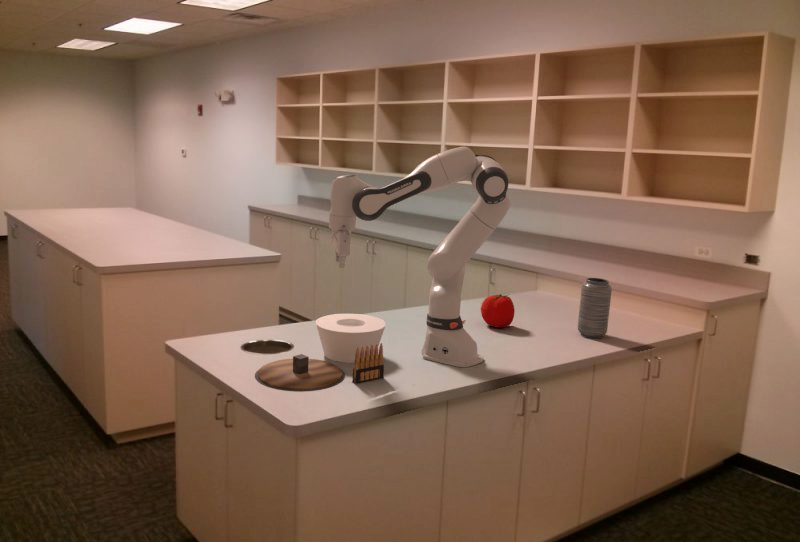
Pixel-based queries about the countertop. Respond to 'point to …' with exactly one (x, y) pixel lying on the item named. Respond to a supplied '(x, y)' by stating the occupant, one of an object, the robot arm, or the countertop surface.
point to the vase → (594, 308)
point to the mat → (300, 390)
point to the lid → (300, 373)
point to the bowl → (348, 335)
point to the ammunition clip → (368, 365)
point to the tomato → (498, 310)
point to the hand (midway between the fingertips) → (339, 264)
